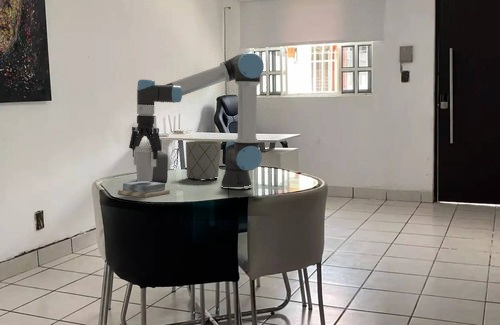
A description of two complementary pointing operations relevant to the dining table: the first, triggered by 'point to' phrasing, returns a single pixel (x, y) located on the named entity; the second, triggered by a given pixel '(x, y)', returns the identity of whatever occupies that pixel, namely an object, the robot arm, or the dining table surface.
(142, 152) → the coffee cup
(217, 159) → the planter
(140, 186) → the pedestal
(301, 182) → the dining table surface
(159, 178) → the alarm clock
